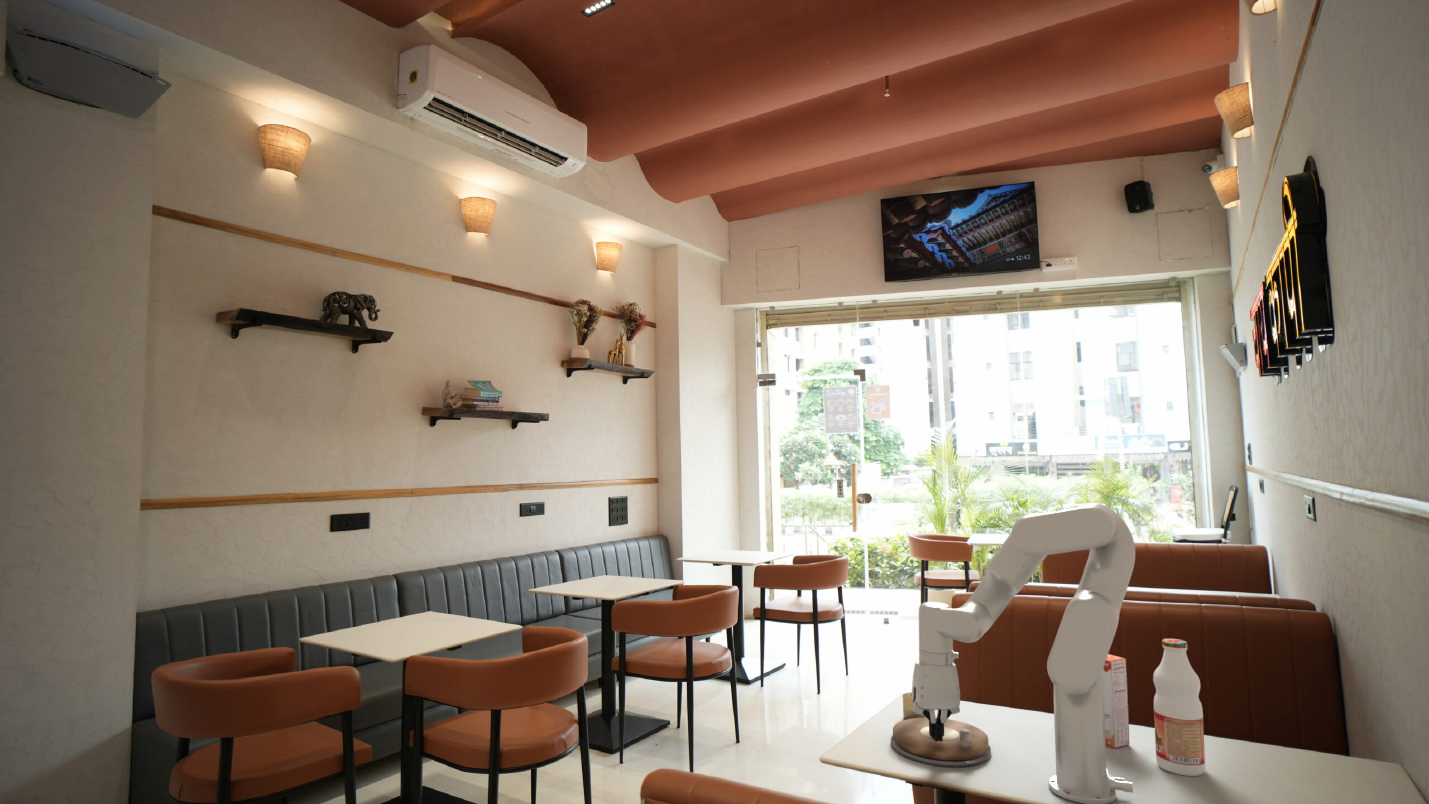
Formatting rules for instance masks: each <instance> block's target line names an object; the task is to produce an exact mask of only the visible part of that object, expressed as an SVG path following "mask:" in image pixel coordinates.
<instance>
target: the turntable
mask: <svg viewBox="0 0 1429 804" xmlns="http://www.w3.org/2000/svg"><path fill="white" fill-rule="evenodd" d="M892 735H893V741H894V742H895V744H896V745H897V746H899V747H900V748H902V749H903V750H905V751H908V752H910V753H913V754H916V755H919V756H923V757H927V758H933V759H940V760H967V759H973V758H977V757H980V756H982V755H984V754H985V753H986V752H987V751H988V749H989V748H988V744H989V737H988V735H987V733H986V732H985V731H983V730H982V729H981V728H978V727H977V726H974V725H972V724H969V723H966V722H963V721H959V720H954V719H949V718H948V719H947V720H946V723H944V736H943V741H934V740H933V738H932V737H931V736H930V735H929V720H928V719H927V718H913V719H907V720H904V719H903V720H901V721H899V722H897V723H896V724H894V726H893V727H892Z"/></svg>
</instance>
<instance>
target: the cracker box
mask: <svg viewBox="0 0 1429 804" xmlns="http://www.w3.org/2000/svg"><path fill="white" fill-rule="evenodd" d="M1103 668H1104V717H1105V718H1104V723H1105V747H1109V748H1111V749H1119V748H1122V747H1126V746H1129V745H1130V723H1129V719H1130V718H1129V702H1128V701H1129V700H1128V698H1129V697H1128V695H1129V694H1128V677H1127V675H1128V674H1127V659H1126V658H1124V657H1121V656H1117V655H1113V654H1110V653H1108V655H1107V658H1106V660H1105V663H1104V666H1103Z"/></svg>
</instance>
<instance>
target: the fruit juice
mask: <svg viewBox="0 0 1429 804" xmlns="http://www.w3.org/2000/svg"><path fill="white" fill-rule="evenodd" d="M1161 645H1162V648H1163V654H1162V658H1161V661H1160V663H1159V665H1158V666H1157V667H1156V668H1155V670H1154V672H1153V677H1152V682H1153V684H1154V687H1155V694H1154V697H1153V717H1154V718H1153V719H1154V736H1155V737H1154V738H1155V739H1154V740H1155V741H1154V742H1155V759H1156V763H1157V765H1158V766H1159V768H1161V769H1163V770H1164V771H1167V772H1170V773H1172V774H1175V775H1181V776H1186V777H1187V776H1188V777H1197V776H1198V777H1199V776H1202V775H1204V774H1205V773H1206V753H1205V752H1206V751H1205V737H1204V736H1205V735H1204V734H1205V732H1204V714H1203V713H1204V712H1203V706H1202V702H1201V701H1200V698H1199V696H1200V695H1199V694H1200V691H1201V686H1202V685H1201V681H1200V677H1199V676H1198V674H1197V673H1196V672H1195V670H1194V668H1193V667H1192V665H1191V663H1190V660H1189V658H1188V655H1187V650H1188V648H1189V647H1188V642H1187V641H1185V640H1183V639H1179V638H1178V639H1177V638H1163V639H1162V640H1161Z"/></svg>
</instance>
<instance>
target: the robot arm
mask: <svg viewBox="0 0 1429 804" xmlns="http://www.w3.org/2000/svg"><path fill="white" fill-rule="evenodd" d="M1011 528H1012V529H1011V532H1010V533H1009V535H1008V537H1007V538H1006V540H1005V541H1004V542H1003V543H1002V545H1001V546H1000V547H999V548H998V550H997V551H996V552H995V554H994V555H993V556H992V557H991V559H990V560H989V562H988V564H987V566H986V569H985V574H984V576H983V578H982V579H981V580H980V582H979V584H978V585H977V587H976V588H975V589H974V591H973V593H971V594H970V597H968V599H967V600H966V601H965V603H963V605H961V606H960V607H956V608H952V607H951V605H949V604H948V603H945V602H938V601H925V602H923V603H921V604H920V605H919V608H918V660H917V661H915V663H914V667H913V675H912V682H911V684H912V685H911V692H912V701H913V702H914V706H913V711H914V712H915V713H916V714H921V715H925V716H926V717H927V719H928V720H929V735H930V736H931V737H932V738H933V740H934V741H943V736H944V723H946V720H947V719H949V718H950V717H951V715H955V714H959V713H960V712H961V709H960V705H961V691H960V682H959V674H958V669H957V665H956V664H955V660H956V659H959V657H960V655H959V652H958V651H954V650H953V649H954V648H953V647H954V646H953V644H954V640H955V641H958V642H962V643H968V644H970V643H976V642H977V641H979V640H980V639H981V638H982V637H983V636H984V634H985V633H987V632H988V631H989V630H990V628H992V626H993V625H994V624H995V622H996V621H997V620H998V619H999V617H1000V616H1001V614H1002V613H1003V612H1004V610H1005V609H1006V608H1007V606H1008V605H1009V604H1010V602H1011V601H1012V600H1013V598H1014V597H1016V595H1017V594H1018V593H1019V592H1020V591H1021V590H1022V589H1023V587H1024V586H1025V585H1026V584H1027V582H1028V581H1029V579H1030V578H1031V577H1032V575H1033V574H1034V573H1035V572H1036V570H1037V569H1038V567H1039V566H1041V564H1042V563H1043V561H1044V560H1045V559H1046V557H1048V555H1056V554H1057V555H1058V554H1063V553H1071V552H1079V551H1086V550H1089V555H1088V558H1087V561H1086V564H1085V566H1084V568H1083V569H1084V570H1083V574H1082V575H1081V579H1080V581H1079V584H1078V586H1077V589H1076V592H1075V593H1074V596H1073V597H1072V598H1071V599H1070V601H1069V602H1068V604H1067V606H1066V608H1065V610H1064V613H1063V616H1062V619H1061V622H1060V623H1059V627H1058V630H1057V633H1056V636H1055V639H1054V640H1053V644H1052V646H1051V649H1050V652H1049V655H1048V657H1047V662H1046V663H1047V664H1046V669H1047V674H1048V677H1049V678H1050V680H1051V682H1052V684H1053V716H1054V718H1053V719H1054V720H1053V721H1054V745H1055V746H1054V747H1055V775H1052V776H1050V777H1049V778H1048V787H1049V789H1050V790H1051V792H1053V794H1055V795H1056V796H1059V797H1061V798H1063V799H1065V800H1068V801H1072V802H1075V803H1079V804H1110V803H1113V802H1114V801H1115V800H1116V799H1117V798H1116V797H1117V791H1122V792H1126V793H1132V794H1133V792H1134V788H1133V787H1134V785H1133V781H1126V780H1125V778H1124V777H1119V776H1112V774H1109V771H1108V770H1109V769H1108V768H1107V753H1106V752H1107V751H1106V747H1107V746H1106V745H1105V723H1104V718H1105V717H1104V668H1103V666H1104V663H1105V660H1106V658H1107V655H1108V654H1109V652H1110V649H1111V647H1112V643H1113V642H1114V638H1115V635H1116V632H1117V629H1118V626H1119V620H1120V613H1121V609H1122V605H1123V602H1124V600H1125V596H1126V594H1127V591H1128V587H1129V584H1130V581H1131V577H1132V575H1133V571H1134V567H1135V563H1136V545H1135V540H1134V537H1133V535H1132V531H1131V530H1130V528H1129V527H1128V524H1127V523H1126V522H1125V521H1124V520H1123V518H1122V517H1121V516H1120V515H1118V514H1117V513H1116V511H1114V510H1113V509H1111V508H1110V507H1108V506H1106V505H1105V504H1101V503H1095V502H1093V503H1088V504H1085V505H1082V506H1081V507H1076V508H1074V507H1073V508H1068V509H1064V510H1058V511H1057V510H1056V511H1052V512H1047V513H1046V512H1045V513H1044V512H1043V513H1040V512H1032V513H1027V514H1026V515H1023V516H1021V517H1019V518H1018V519H1017V520H1016V521H1015V522H1014V524H1013V526H1012V527H1011ZM936 711H937V712H936Z"/></svg>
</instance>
